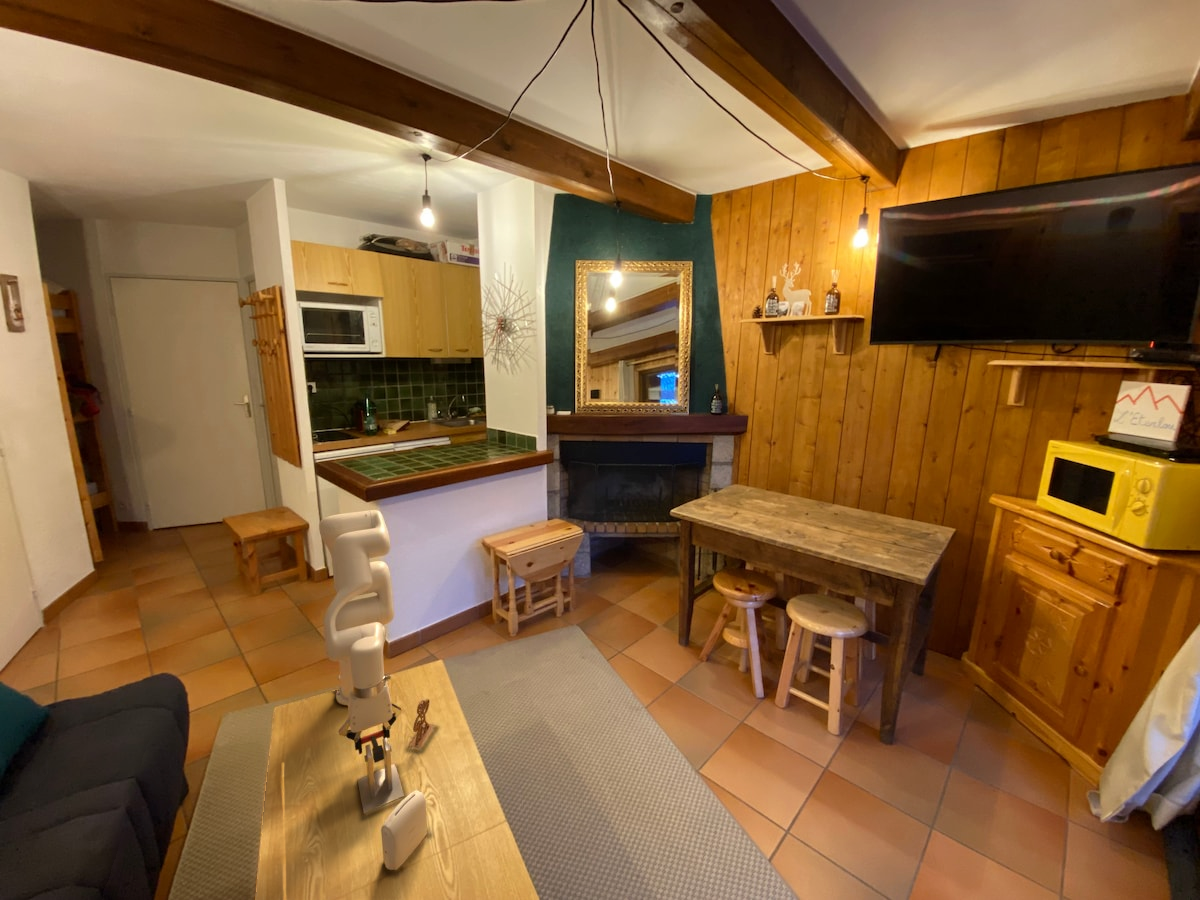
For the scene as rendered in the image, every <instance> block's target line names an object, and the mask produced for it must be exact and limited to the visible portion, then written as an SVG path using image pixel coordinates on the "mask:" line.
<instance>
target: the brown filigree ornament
mask: <svg viewBox="0 0 1200 900" xmlns="http://www.w3.org/2000/svg"><path fill="white" fill-rule="evenodd" d="M429 708H430V699H428V698H426V699H421V700H420V701H419V702H418V705H417V708H416V714H417V716H416V718H415V720H414V723H413V729H412V731H413V733H416V735H415V736H414V737H413V739H412V741H411V742H410V744H409V745H408V747H410V748H415V749H421V748H422V747H423V745H424V744H425V742H426V740H427V739H428V737H429V736H430V734H432V731H433V730H434V729H435V727H436V725H435V724H429V722H428V721H427V719H426V718H427V717H426V714H427V713H428V711H429ZM419 719H420V720H419Z"/></svg>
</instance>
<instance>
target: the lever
mask: <svg viewBox="0 0 1200 900" xmlns="http://www.w3.org/2000/svg"><path fill="white" fill-rule="evenodd" d="M383 736H384V731H383V729H381V730H379V731H376V732H374V733H373V732H372V733H370V734H368V735H365V736H362V737H361V742H362V745H364V744H367V743H370V742H371V746H372V747H371V752H372V756H373V764H376V763H378V762H380V761H384V751H383V744H378V741H377V739H380V738H383Z"/></svg>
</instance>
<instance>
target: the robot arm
mask: <svg viewBox="0 0 1200 900" xmlns="http://www.w3.org/2000/svg"><path fill="white" fill-rule="evenodd" d="M318 531H319V533H320V537H321V539H322V541H323V543H324V544H325V546H326V548H327V549H328V552H329V554H330V557H331V565H332V566H331V567H332V575H333V576H332V577H333V586H334V591H335V594H336V595H335V596H334V598H333V599H332V600H331V602H330V603H329V606H328V607H327V609H326V612H325V614H324V618H323V635H324V646H325V653H326V656H327V658H328V660H329V661H330V662H334V663H336V662H338V666H339V668H338V669H339V675H338V676H337V680H338V681H339V682H340V687H338V689H337V691H336V693H335V700H336V701H337V703H338V704H340V705H343V706H347V714H348V716H347V719H346V720H345V721H344V723H343V724H342V725H341V727H339V729H338V735H339V736H340V737H341V736H342V737H345V738H347V739H349V740H352V741H353V742H354V749H355V751H358V755H361V754H362V753H363V744H362V742H361V738H362V737H361V736H362V731H366V730H368V729H371V728H374V727H377V726H379V725H382V726H381V727H382V730H383V731H384V736H383V737H382V740H383V739H384V738H387V740H388V741H389V738H391V731H390V730H391V729H392V726H393V725H394V723H395V722H396V721H397V719H398V718H399V717H400V716H401V714H402V713H403V708H401V707H400V706H398V705H396V704H394V703H393V702H392V697H391V691H390V687H389V684H388V681H391V679H392V678H391V674H385V665H384V662H385V661H384V646H385V642H386V640H387V637H386V636H387V631H386V628H385V626H384V625H387V624H390V623H391V622H392V621H393V620H394V617H395V605H394V596H393V585H392V578H391V576H392V575H391V572H390V568H389V566H388V563H386V562H385V561H382V560H376V561H370V559H373V558H379V557H383V556H386V555H388V554H389V553H390V550H391V538H390V534H389V529H388V527H387V524H386V521H385V518H384V515H383V513H382V512H381V511H380V510H377V509H368V510H362V511H355V512H353V511H352V512H344V513H338V514H333V515H329V516H325V517H323V518H322V519H321V520H320V521H319V522H318ZM373 593H375V594H376V595H372V596H368V597H363V598H362V597H361V598H358V599H354V598H356V597H357V596H359V597H360V596H363V595H368V594H373ZM338 690H339V691H338Z"/></svg>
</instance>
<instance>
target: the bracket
mask: <svg viewBox="0 0 1200 900" xmlns="http://www.w3.org/2000/svg"><path fill="white" fill-rule="evenodd" d="M382 747H383V751H384V759H383V765H384V767H383V768H382V769H378V770H376V771H375V770H374V759H373V753H372V747H371V744H366V745H365V747H364V748H365V755H363V756H364V757H363V758H364V763H366V775H364V776H362V777H359V778H357V784H358V790H359V797H360V801H361V806H362V811H363V815H366V814H368V813H370V812H372V811H375V810H377V809H379V808H381V807H383V806H385V805H388V804H390V803H393V802H394V801H396V800H399V799H401V798H403V797H405V793H404V790H403V787H402V783H401V780H400V777H399V773H398V769H397V766H396V763H393V764H392V755H391V754H392V752H393V751H392V749H393V748H392V745H390V744H389V739H388V740H387V738H384V739H383V738H382Z"/></svg>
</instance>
